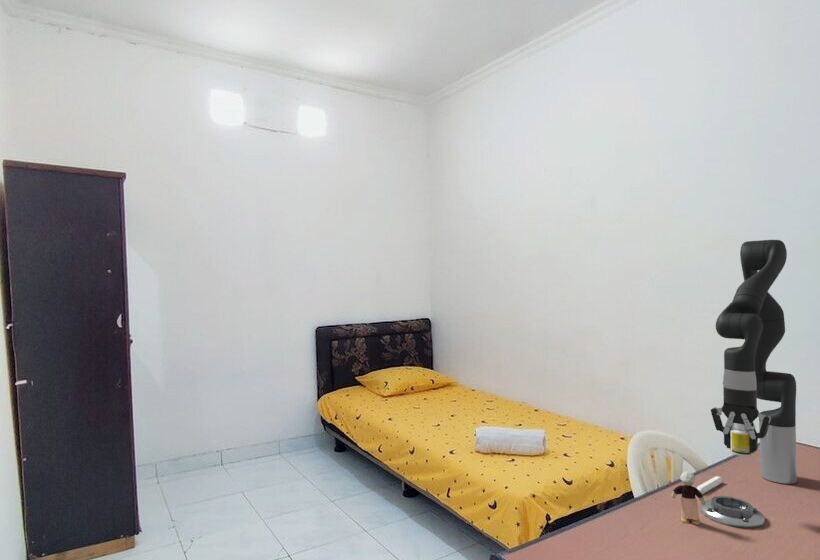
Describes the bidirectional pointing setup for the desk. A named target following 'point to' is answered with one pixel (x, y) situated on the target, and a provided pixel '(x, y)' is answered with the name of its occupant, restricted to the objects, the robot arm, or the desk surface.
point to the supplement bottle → (740, 440)
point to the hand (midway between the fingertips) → (740, 449)
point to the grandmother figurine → (688, 498)
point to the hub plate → (732, 521)
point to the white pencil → (709, 484)
